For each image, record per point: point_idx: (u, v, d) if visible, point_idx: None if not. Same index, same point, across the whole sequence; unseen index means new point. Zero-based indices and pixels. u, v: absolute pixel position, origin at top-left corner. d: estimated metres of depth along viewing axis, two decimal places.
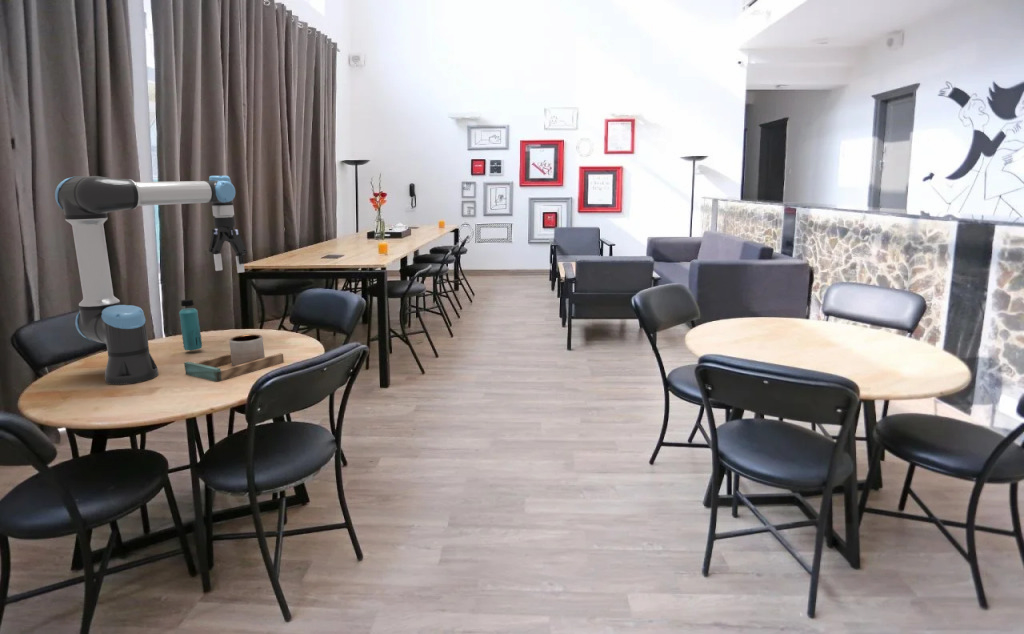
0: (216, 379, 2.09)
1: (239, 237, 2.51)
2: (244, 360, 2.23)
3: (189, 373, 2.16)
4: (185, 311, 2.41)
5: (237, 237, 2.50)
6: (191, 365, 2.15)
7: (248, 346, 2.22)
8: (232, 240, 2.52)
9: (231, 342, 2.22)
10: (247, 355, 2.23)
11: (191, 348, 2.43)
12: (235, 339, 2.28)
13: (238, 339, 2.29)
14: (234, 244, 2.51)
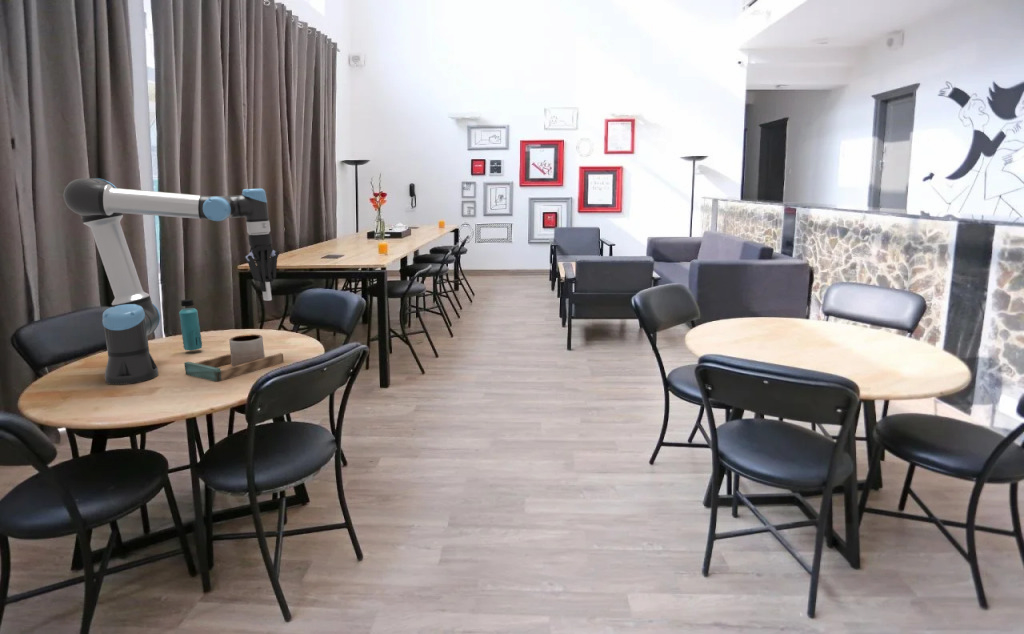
0: (216, 379, 2.09)
1: (251, 264, 2.26)
2: (244, 360, 2.23)
3: (189, 373, 2.16)
4: (185, 311, 2.41)
5: (249, 264, 2.26)
6: (191, 365, 2.15)
7: (248, 346, 2.22)
8: (257, 263, 2.29)
9: (231, 342, 2.22)
10: (247, 355, 2.23)
11: (191, 348, 2.43)
12: (235, 339, 2.28)
13: (238, 339, 2.29)
14: (258, 269, 2.30)
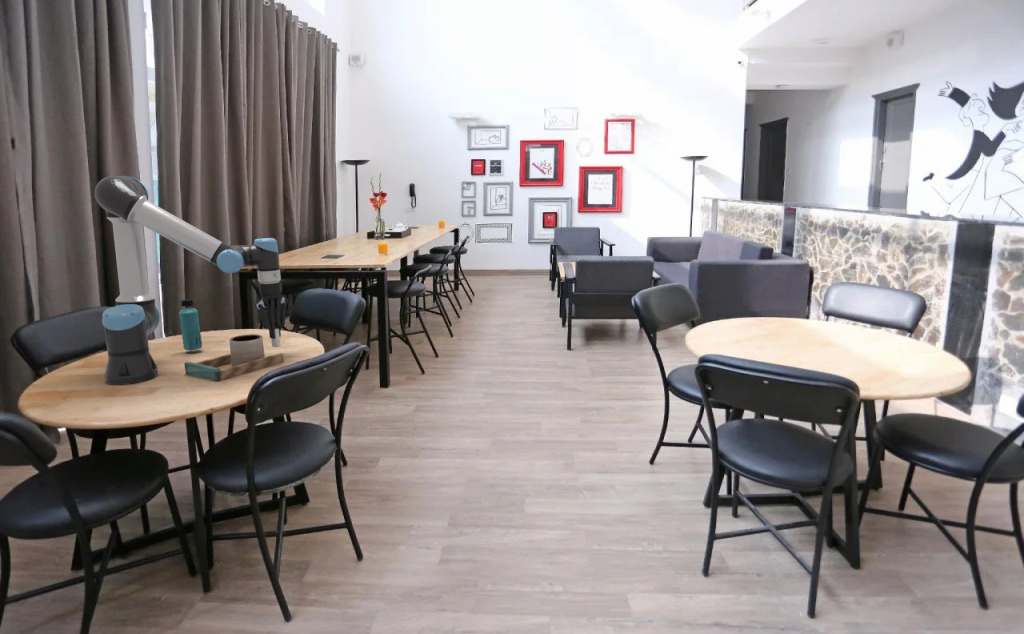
0: (216, 379, 2.09)
1: (261, 312, 2.30)
2: (244, 360, 2.23)
3: (189, 373, 2.16)
4: (185, 311, 2.41)
5: (260, 312, 2.31)
6: (191, 365, 2.15)
7: (248, 346, 2.22)
8: (267, 311, 2.33)
9: (231, 342, 2.22)
10: (247, 355, 2.23)
11: (191, 348, 2.43)
12: (235, 339, 2.28)
13: (238, 339, 2.29)
14: (267, 316, 2.34)
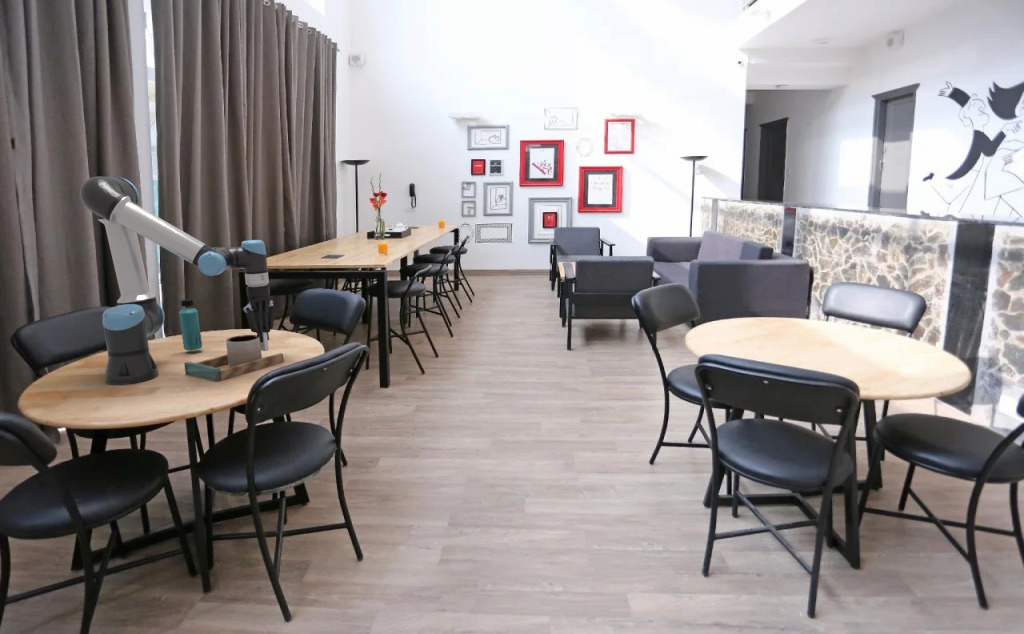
0: (216, 379, 2.09)
1: (249, 316, 2.26)
2: (241, 360, 2.21)
3: (189, 373, 2.16)
4: (185, 311, 2.41)
5: (247, 315, 2.27)
6: (191, 365, 2.15)
7: (244, 347, 2.21)
8: (255, 314, 2.29)
9: (228, 343, 2.21)
10: (244, 356, 2.21)
11: (191, 348, 2.43)
12: (232, 339, 2.27)
13: (235, 339, 2.28)
14: (255, 319, 2.30)
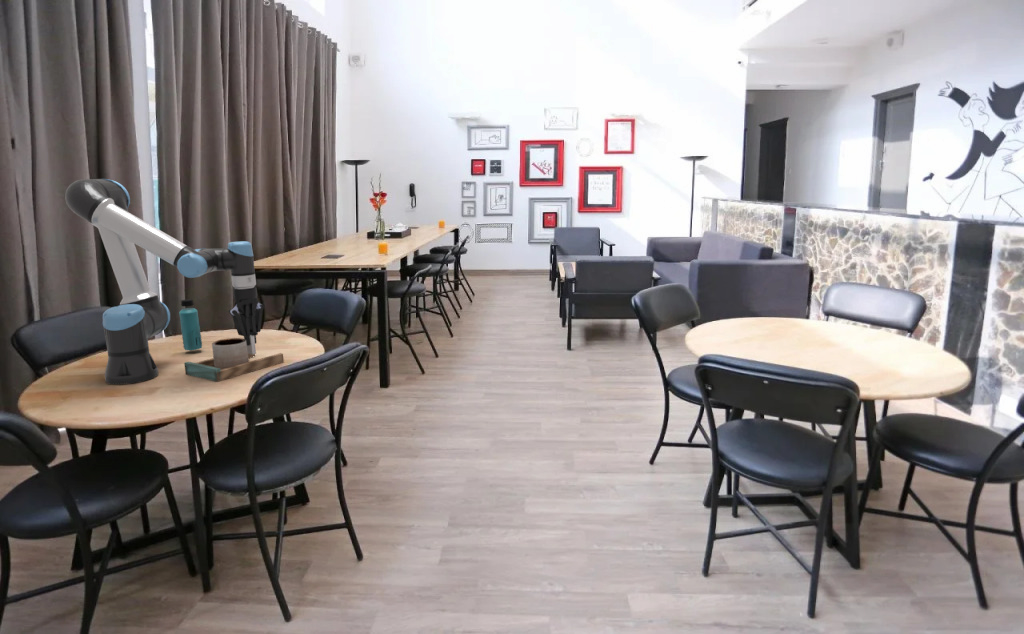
0: (216, 379, 2.09)
1: (235, 319, 2.22)
2: (226, 364, 2.17)
3: (189, 373, 2.16)
4: (185, 311, 2.41)
5: (234, 318, 2.22)
6: (191, 365, 2.15)
7: (230, 350, 2.17)
8: (242, 317, 2.25)
9: (213, 346, 2.17)
10: (230, 360, 2.17)
11: (191, 348, 2.43)
12: (218, 343, 2.23)
13: (222, 343, 2.24)
14: (242, 322, 2.25)
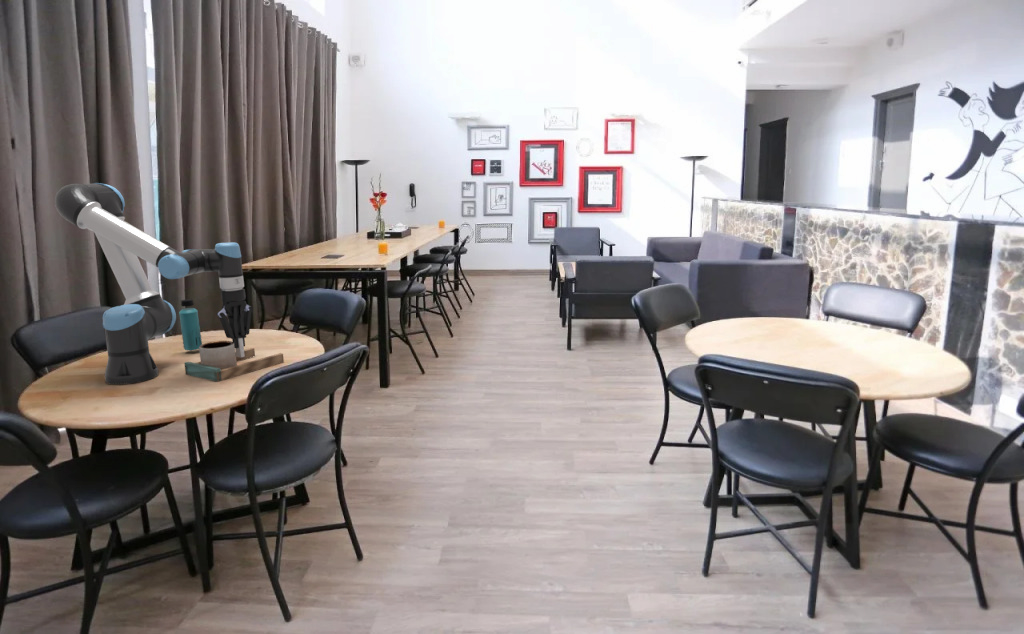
0: (216, 379, 2.09)
1: (223, 321, 2.18)
2: None
3: (189, 373, 2.16)
4: (185, 311, 2.41)
5: (222, 321, 2.18)
6: (191, 365, 2.15)
7: (217, 354, 2.13)
8: (230, 319, 2.21)
9: (200, 349, 2.14)
10: (216, 363, 2.13)
11: (191, 348, 2.43)
12: (206, 346, 2.19)
13: (210, 346, 2.20)
14: (230, 325, 2.22)
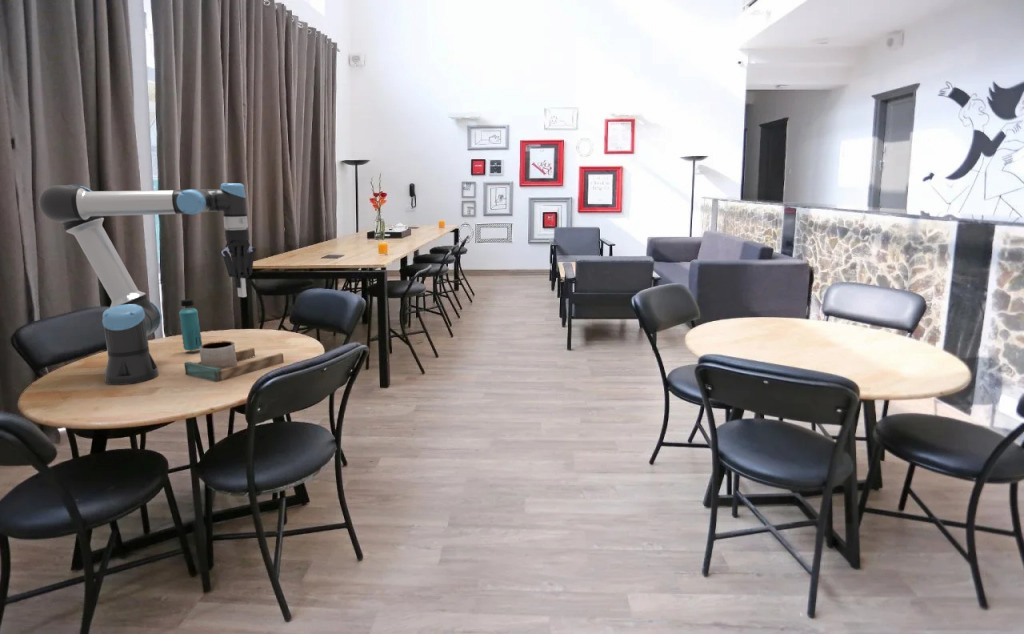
0: (216, 379, 2.09)
1: (226, 259, 2.23)
2: None
3: (189, 373, 2.16)
4: (185, 311, 2.41)
5: (225, 259, 2.23)
6: (191, 365, 2.15)
7: (217, 354, 2.13)
8: (233, 259, 2.26)
9: (200, 349, 2.14)
10: (216, 363, 2.13)
11: (191, 348, 2.43)
12: (207, 346, 2.19)
13: (210, 346, 2.20)
14: (233, 264, 2.27)
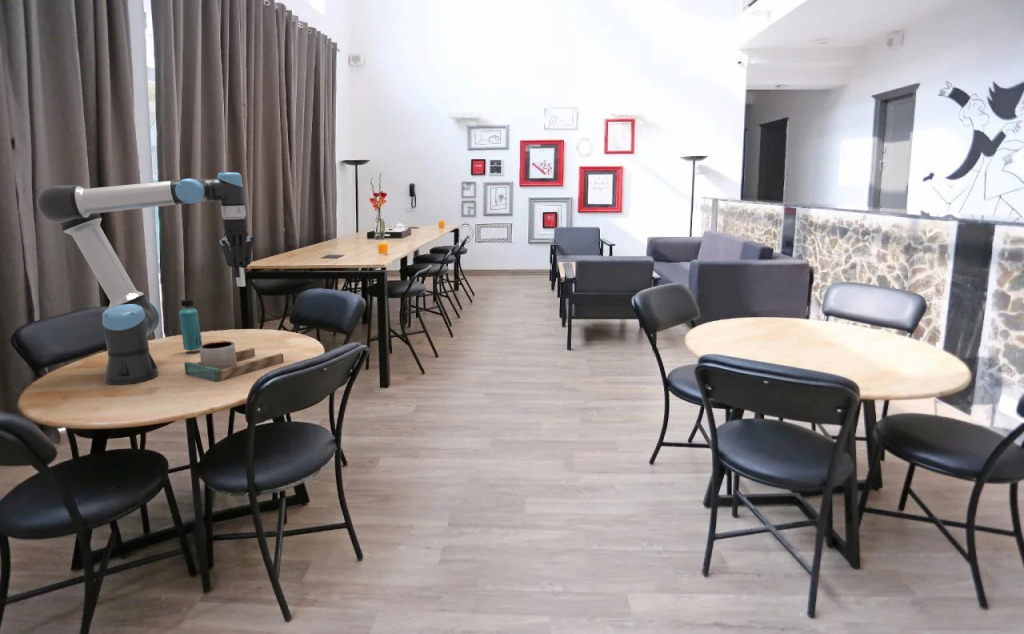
0: (216, 379, 2.09)
1: (225, 249, 2.23)
2: None
3: (189, 373, 2.16)
4: (185, 311, 2.41)
5: (223, 248, 2.24)
6: (191, 365, 2.15)
7: (217, 354, 2.13)
8: (231, 248, 2.26)
9: (200, 349, 2.14)
10: (216, 363, 2.13)
11: (191, 348, 2.43)
12: (207, 346, 2.19)
13: (210, 346, 2.20)
14: (232, 254, 2.27)
